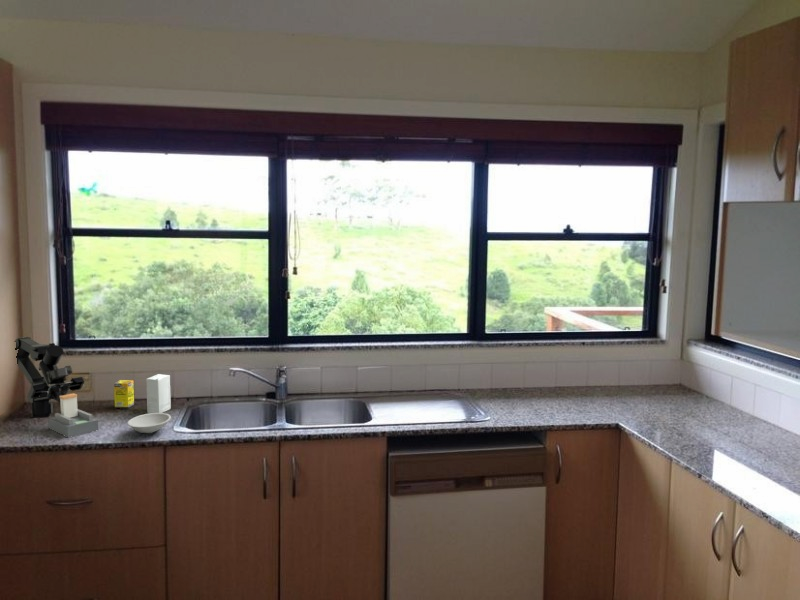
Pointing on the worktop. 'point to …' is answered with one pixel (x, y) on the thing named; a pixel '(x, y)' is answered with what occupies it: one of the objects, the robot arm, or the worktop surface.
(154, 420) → the dish
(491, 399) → the worktop surface
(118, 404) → the supplement box
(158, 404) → the skincare box
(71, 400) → the handle
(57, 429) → the grey holder base
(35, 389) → the robot arm
